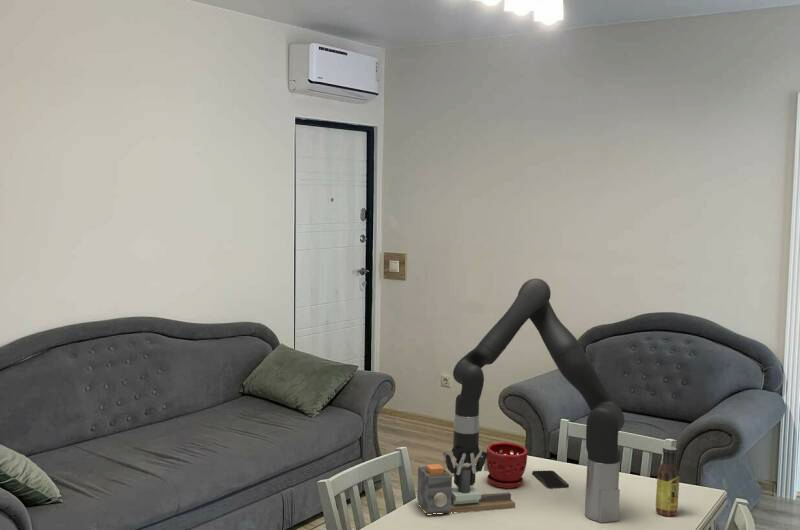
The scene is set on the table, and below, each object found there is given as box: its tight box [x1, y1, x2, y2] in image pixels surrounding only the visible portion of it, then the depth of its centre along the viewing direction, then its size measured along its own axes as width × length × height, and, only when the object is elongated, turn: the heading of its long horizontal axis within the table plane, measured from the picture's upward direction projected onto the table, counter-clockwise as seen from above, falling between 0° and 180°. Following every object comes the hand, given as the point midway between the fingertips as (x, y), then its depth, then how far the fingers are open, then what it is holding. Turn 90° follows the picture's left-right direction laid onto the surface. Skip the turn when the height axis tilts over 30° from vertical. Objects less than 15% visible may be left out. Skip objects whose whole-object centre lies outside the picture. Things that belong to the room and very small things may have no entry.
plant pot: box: [486, 442, 528, 489], centre depth 266 cm, size 13×13×12 cm
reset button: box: [425, 463, 445, 475], centre depth 241 cm, size 4×4×3 cm
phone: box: [531, 470, 570, 490], centre depth 271 cm, size 8×1×15 cm
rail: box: [417, 466, 516, 514], centre depth 244 cm, size 11×28×12 cm, turn 107°
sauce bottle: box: [655, 445, 680, 517], centre depth 244 cm, size 7×6×20 cm
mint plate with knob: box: [451, 465, 482, 505], centre depth 244 cm, size 7×8×10 cm
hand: (464, 485), depth 244 cm, fingers closed on mint plate with knob, 3 cm apart
